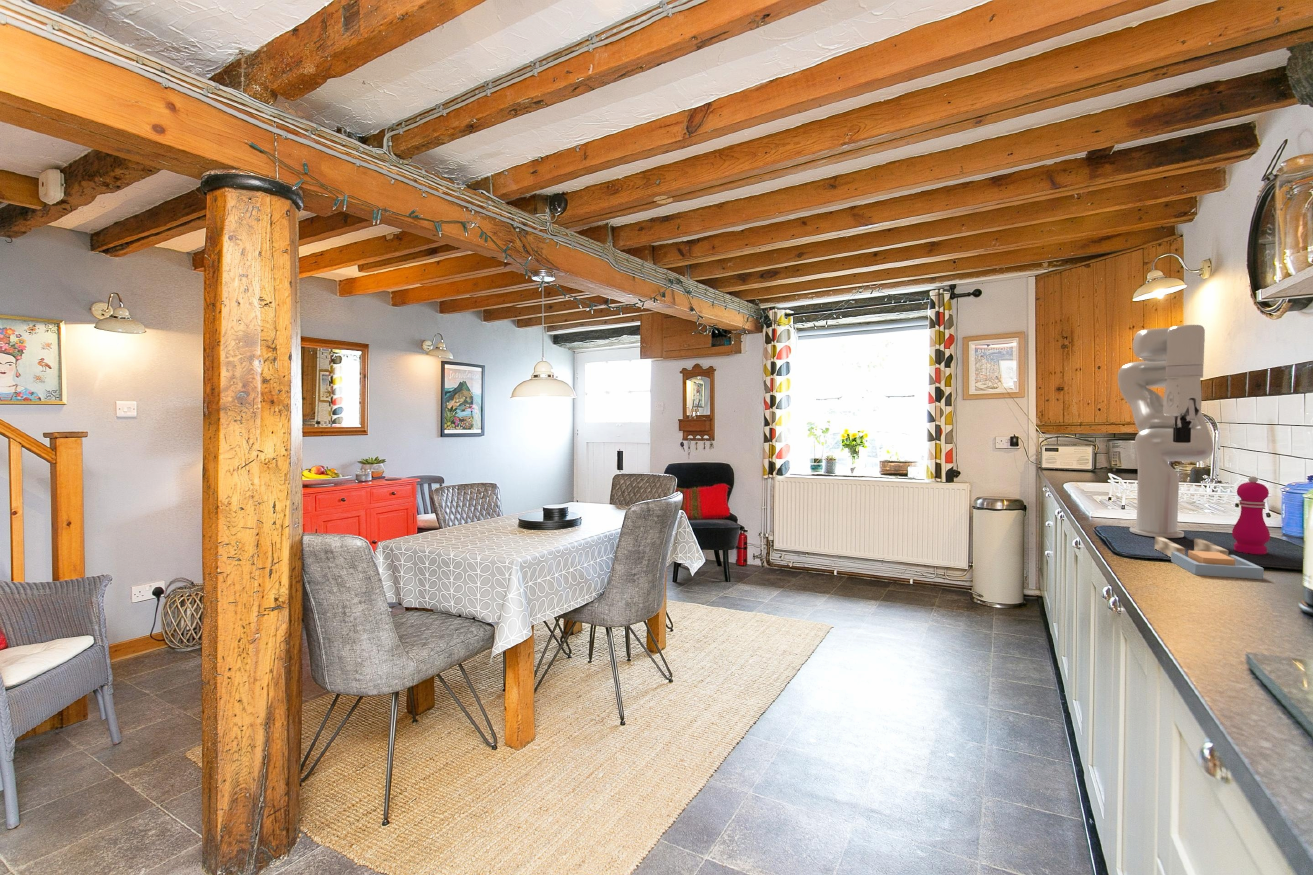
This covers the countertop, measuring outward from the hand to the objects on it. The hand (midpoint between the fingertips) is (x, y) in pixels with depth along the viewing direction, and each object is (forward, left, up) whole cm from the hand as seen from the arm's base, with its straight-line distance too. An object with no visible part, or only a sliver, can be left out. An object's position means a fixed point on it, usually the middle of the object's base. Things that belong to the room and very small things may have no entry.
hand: (1181, 442), depth 161 cm
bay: (+19, 0, -29) cm, 34 cm away
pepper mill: (-4, +17, -29) cm, 34 cm away
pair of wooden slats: (+6, 0, -29) cm, 30 cm away
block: (+20, -1, -29) cm, 36 cm away
